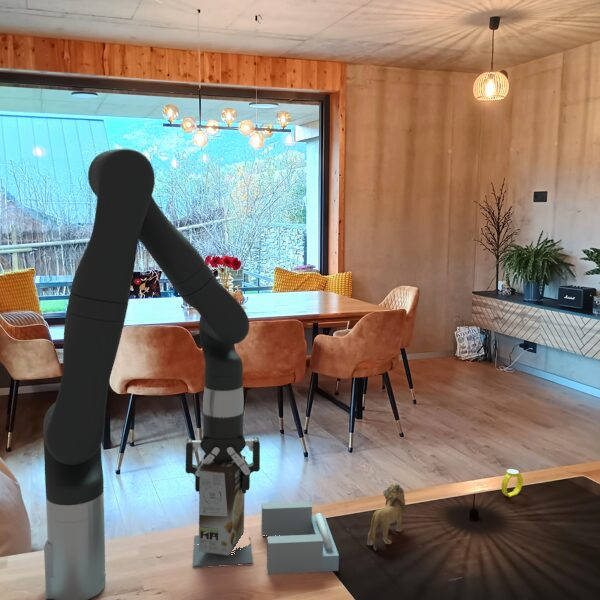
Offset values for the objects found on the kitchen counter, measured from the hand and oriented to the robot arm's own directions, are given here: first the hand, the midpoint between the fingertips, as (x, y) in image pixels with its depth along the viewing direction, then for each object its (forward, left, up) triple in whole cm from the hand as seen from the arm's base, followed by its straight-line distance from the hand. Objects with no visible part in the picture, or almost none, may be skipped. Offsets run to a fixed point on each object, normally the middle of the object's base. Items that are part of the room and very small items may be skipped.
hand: (222, 492), depth 123 cm
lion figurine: (+33, +3, -12) cm, 36 cm away
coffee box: (0, 0, -10) cm, 10 cm away
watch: (+68, +19, -12) cm, 72 cm away
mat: (0, 0, -12) cm, 12 cm away
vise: (+15, -1, -12) cm, 19 cm away
